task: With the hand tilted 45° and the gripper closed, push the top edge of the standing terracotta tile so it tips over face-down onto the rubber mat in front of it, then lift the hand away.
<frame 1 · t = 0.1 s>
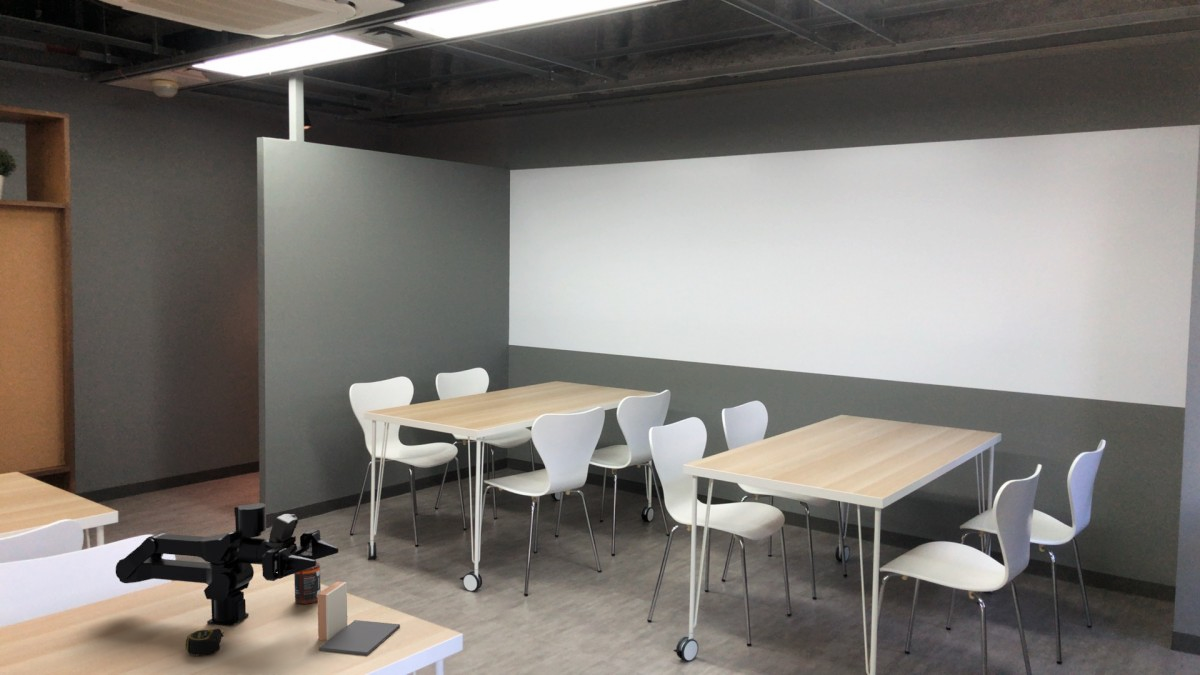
hand: (327, 556, 187), 17 cm above the table, fingers open, 9 cm apart
tape measure: (208, 651, 178), on the table
mat: (360, 638, 184), on the table
supplement bottle: (308, 601, 206), on the table
tile: (333, 632, 187), on the table
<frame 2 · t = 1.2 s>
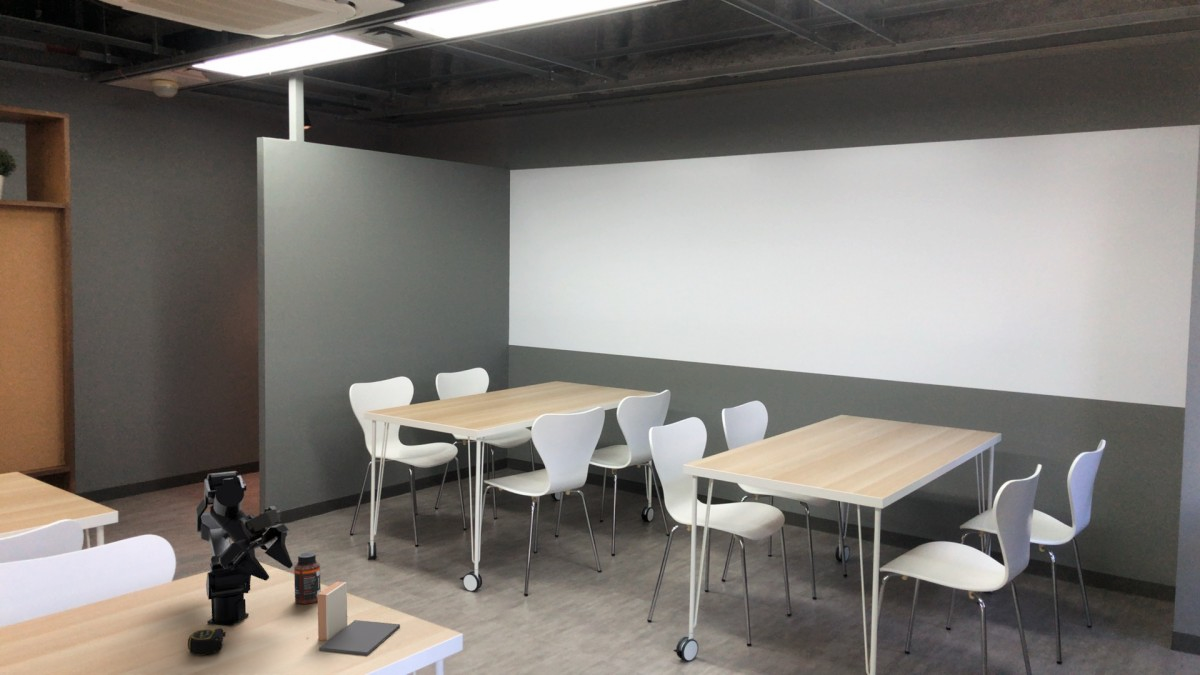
hand: (279, 572, 189), 12 cm above the table, fingers open, 9 cm apart
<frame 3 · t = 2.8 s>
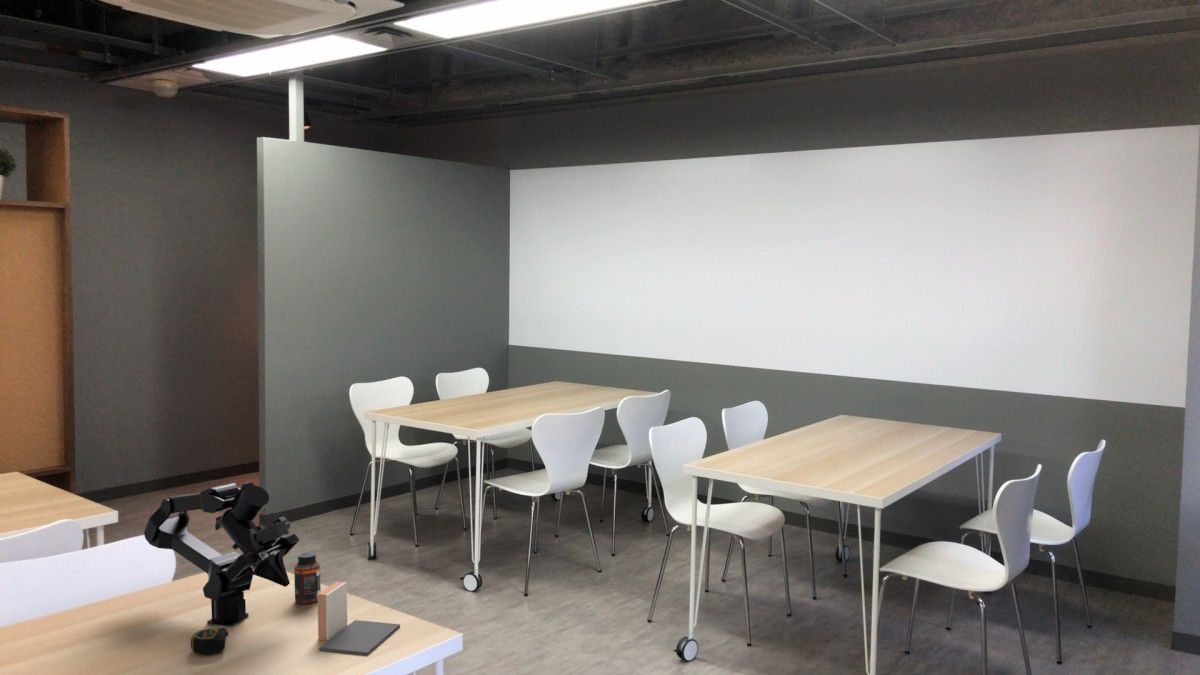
hand: (287, 585, 187), 10 cm above the table, fingers closed
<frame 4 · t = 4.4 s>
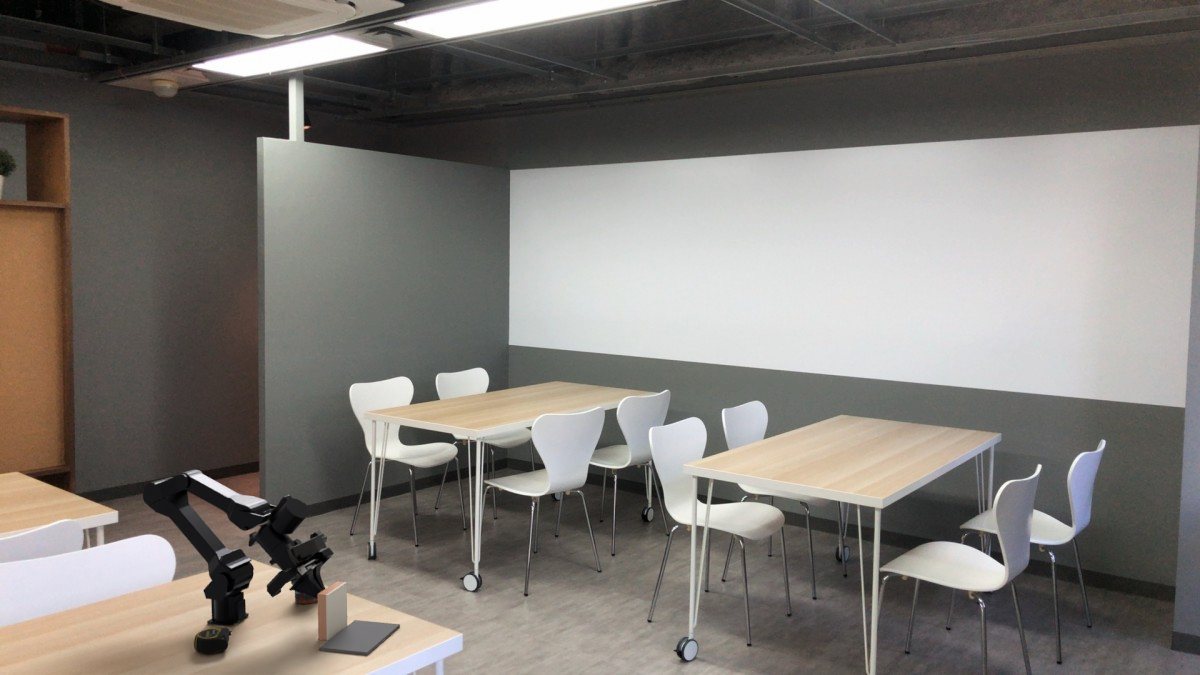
hand: (326, 599, 186), 7 cm above the table, fingers closed, pressing on tile
tile: (333, 632, 187), on the table, touching gripper
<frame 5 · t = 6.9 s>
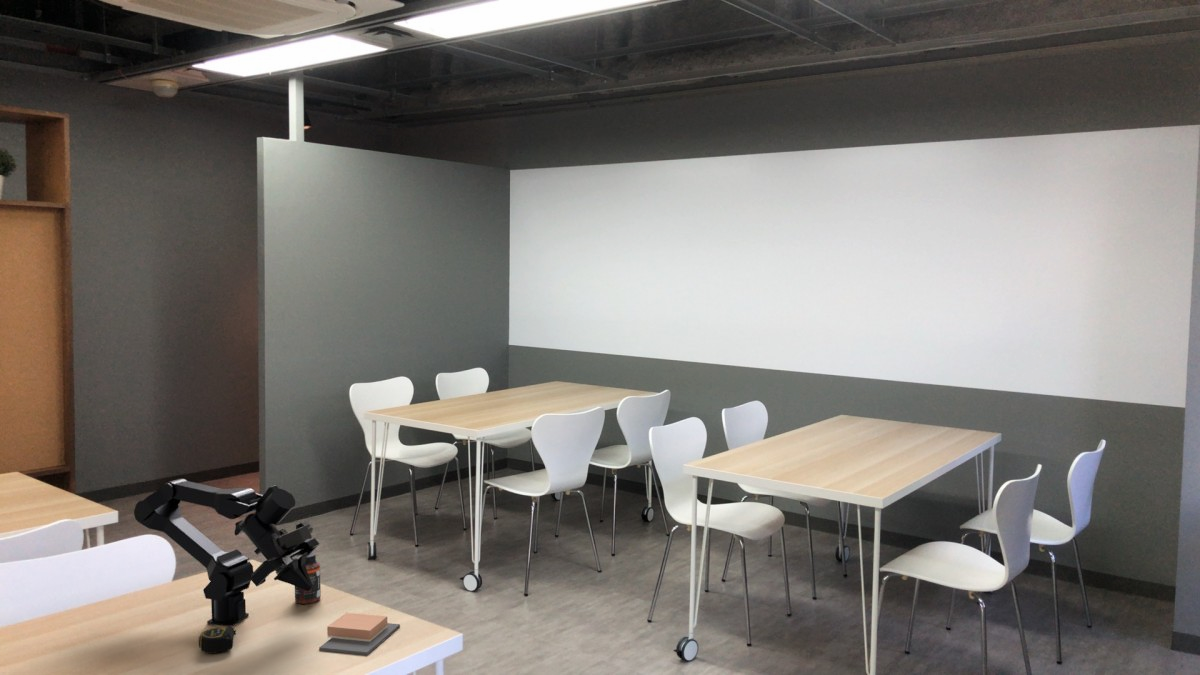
hand: (310, 589, 187), 9 cm above the table, fingers closed
tile: (337, 624, 186), point 2 cm above the table, tilted 90°, touching mat
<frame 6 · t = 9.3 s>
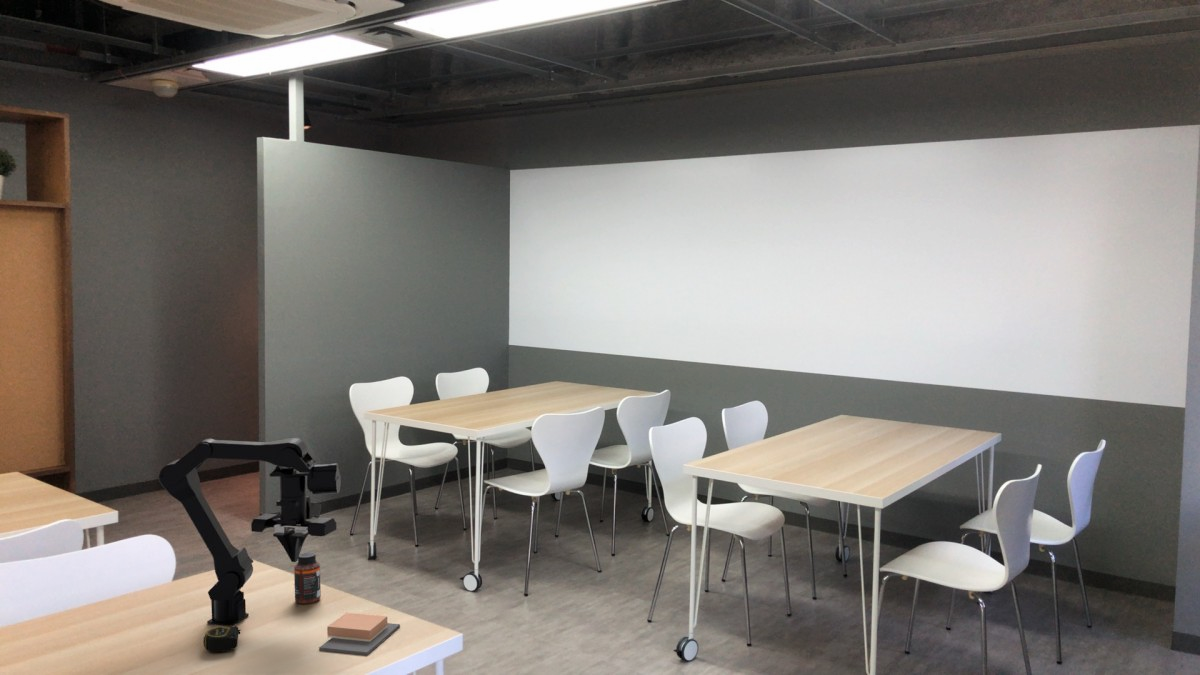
hand: (294, 561, 195), 13 cm above the table, fingers closed
at the end: tile tilted 90°; tile touching mat; tile inside the target area (1.5 cm from its centre), point 1.8 cm above the table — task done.
